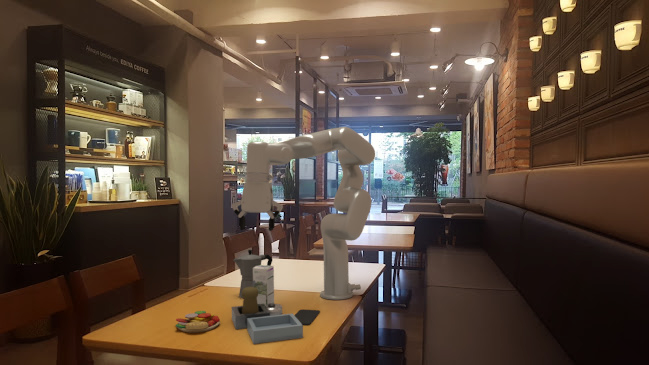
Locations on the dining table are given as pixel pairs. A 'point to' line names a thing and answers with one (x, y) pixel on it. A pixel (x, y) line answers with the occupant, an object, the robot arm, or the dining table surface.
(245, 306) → the cork
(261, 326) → the tray
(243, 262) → the coffeepot
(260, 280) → the syrup box
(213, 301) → the dining table surface
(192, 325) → the toy food set
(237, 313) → the collar
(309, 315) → the phone
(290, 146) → the robot arm
